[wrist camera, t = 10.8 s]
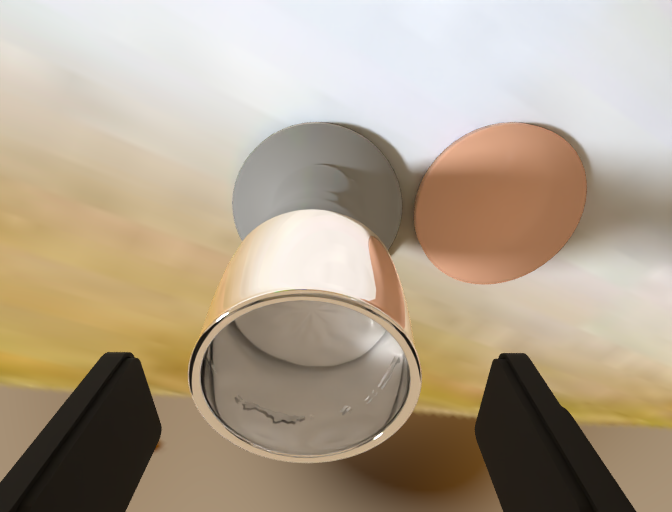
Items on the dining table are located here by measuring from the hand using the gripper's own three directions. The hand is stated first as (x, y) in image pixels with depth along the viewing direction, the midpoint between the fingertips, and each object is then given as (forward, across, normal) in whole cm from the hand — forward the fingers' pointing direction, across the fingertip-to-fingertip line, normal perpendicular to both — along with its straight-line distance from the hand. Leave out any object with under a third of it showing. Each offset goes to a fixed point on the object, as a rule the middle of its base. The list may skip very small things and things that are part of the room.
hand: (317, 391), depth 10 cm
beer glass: (+16, +1, +1) cm, 16 cm away
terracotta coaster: (+16, -11, +1) cm, 20 cm away
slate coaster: (+16, +1, +1) cm, 16 cm away
